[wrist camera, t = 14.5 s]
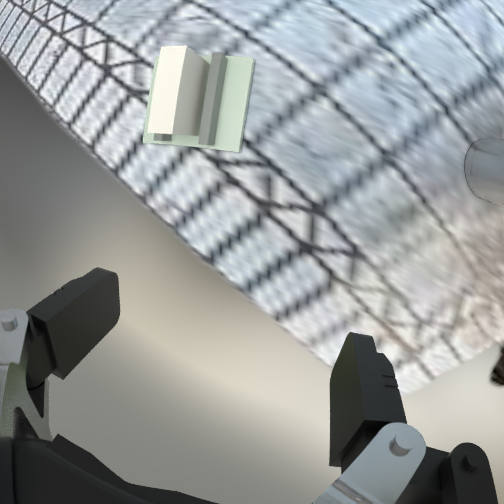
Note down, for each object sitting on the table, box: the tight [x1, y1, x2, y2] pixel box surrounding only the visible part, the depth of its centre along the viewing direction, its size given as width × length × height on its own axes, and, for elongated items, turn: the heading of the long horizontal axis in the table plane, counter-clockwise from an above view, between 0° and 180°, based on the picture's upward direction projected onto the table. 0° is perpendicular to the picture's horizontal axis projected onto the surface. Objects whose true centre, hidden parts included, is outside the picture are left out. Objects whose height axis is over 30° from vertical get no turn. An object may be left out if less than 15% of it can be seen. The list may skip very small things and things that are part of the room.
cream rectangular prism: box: [147, 46, 210, 136], centre depth 31 cm, size 3×10×9 cm, turn 171°
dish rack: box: [143, 53, 255, 152], centre depth 34 cm, size 14×13×4 cm
